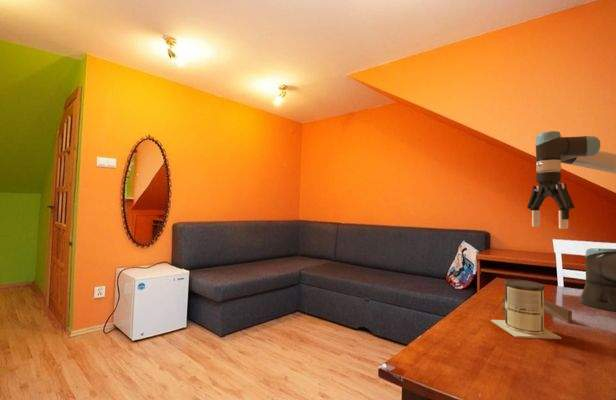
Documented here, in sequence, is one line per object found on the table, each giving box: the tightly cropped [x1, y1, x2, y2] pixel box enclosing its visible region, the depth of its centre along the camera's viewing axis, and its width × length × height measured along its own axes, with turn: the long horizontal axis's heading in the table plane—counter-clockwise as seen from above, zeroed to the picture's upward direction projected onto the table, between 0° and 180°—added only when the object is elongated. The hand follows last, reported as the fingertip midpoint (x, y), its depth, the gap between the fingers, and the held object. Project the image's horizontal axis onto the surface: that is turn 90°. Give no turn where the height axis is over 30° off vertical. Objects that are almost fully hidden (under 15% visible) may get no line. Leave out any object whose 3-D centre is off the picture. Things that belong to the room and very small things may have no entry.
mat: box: [490, 319, 562, 340], centre depth 96 cm, size 13×13×1 cm
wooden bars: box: [501, 297, 573, 324], centre depth 109 cm, size 15×13×4 cm
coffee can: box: [504, 278, 545, 334], centre depth 96 cm, size 10×10×14 cm
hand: (549, 227), depth 116 cm, fingers open, 13 cm apart
